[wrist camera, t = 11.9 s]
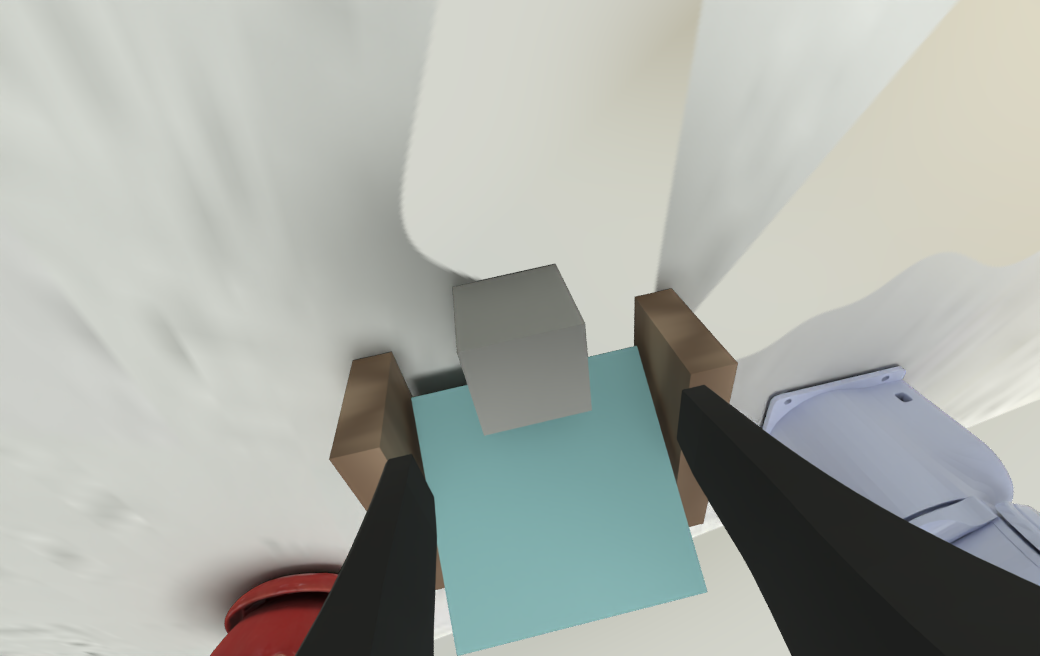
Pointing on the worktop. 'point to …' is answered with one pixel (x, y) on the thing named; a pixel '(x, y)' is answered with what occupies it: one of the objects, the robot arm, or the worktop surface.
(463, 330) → the granite block
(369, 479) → the hatch stand
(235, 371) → the worktop surface
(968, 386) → the worktop surface
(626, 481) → the hatch flap
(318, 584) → the plant pot
